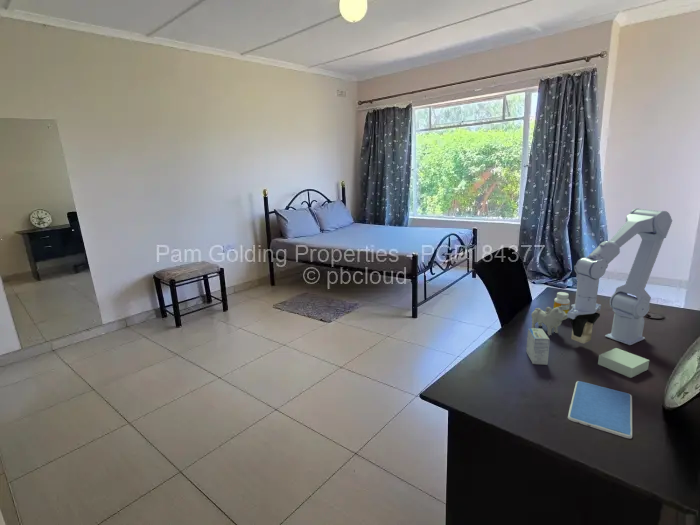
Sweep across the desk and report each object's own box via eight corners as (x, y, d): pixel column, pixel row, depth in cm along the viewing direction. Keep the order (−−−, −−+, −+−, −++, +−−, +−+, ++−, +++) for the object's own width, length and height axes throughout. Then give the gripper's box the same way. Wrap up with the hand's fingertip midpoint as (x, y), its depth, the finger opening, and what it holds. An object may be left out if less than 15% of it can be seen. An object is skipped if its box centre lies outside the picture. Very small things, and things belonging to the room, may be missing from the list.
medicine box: (547, 365, 114) (550, 339, 112) (531, 364, 115) (534, 338, 113) (540, 353, 121) (543, 328, 119) (525, 352, 122) (527, 327, 120)
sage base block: (614, 356, 118) (616, 347, 117) (647, 369, 110) (649, 360, 109) (597, 364, 114) (599, 355, 113) (630, 377, 106) (632, 368, 105)
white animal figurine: (560, 340, 130) (563, 311, 127) (527, 327, 141) (530, 300, 138) (569, 336, 132) (573, 308, 129) (537, 324, 143) (539, 297, 141)
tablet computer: (631, 442, 83) (632, 436, 82) (566, 421, 90) (567, 416, 90) (631, 398, 98) (632, 393, 98) (575, 383, 105) (576, 379, 105)
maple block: (578, 336, 127) (580, 319, 125) (590, 340, 123) (592, 323, 122) (571, 338, 125) (573, 322, 123) (583, 343, 121) (585, 326, 120)
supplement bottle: (550, 314, 152) (552, 291, 150) (564, 314, 151) (567, 291, 149) (555, 319, 147) (558, 295, 144) (570, 319, 146) (573, 295, 144)
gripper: (587, 288, 127) (582, 325, 130) (560, 295, 121) (555, 334, 124) (609, 293, 121) (604, 332, 124) (582, 302, 114) (577, 343, 118)
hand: (581, 334), depth 124 cm, fingers closed on maple block, 4 cm apart
